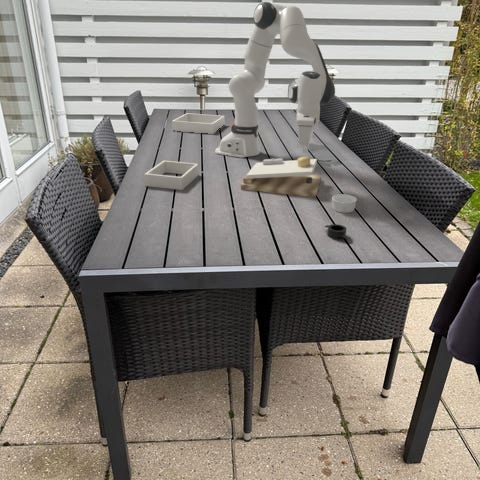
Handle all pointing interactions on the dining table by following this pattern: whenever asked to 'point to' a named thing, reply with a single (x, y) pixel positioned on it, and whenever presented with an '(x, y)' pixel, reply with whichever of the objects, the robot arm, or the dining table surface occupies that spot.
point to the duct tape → (336, 231)
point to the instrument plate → (282, 168)
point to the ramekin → (343, 203)
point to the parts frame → (171, 182)
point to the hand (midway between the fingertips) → (305, 151)
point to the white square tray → (198, 123)
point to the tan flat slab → (284, 185)
